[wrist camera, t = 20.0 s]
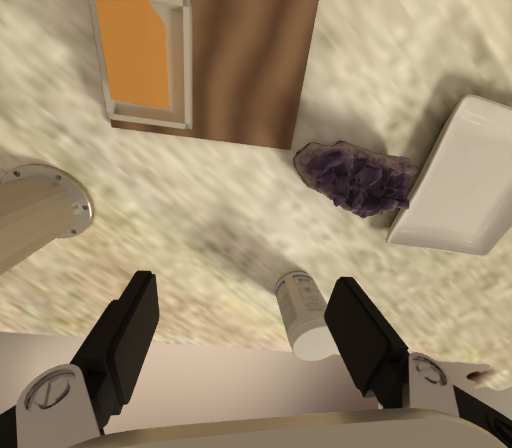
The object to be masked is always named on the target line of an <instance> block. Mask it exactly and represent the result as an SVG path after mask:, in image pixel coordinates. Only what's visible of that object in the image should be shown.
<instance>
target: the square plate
mask: <svg viewBox="0 0 512 448" xmlns="http://www.w3.org/2000/svg"><path fill="white" fill-rule="evenodd" d="M407 199H408V200H409V202H410V207H409V209H407V210H403V209H400V211H399V212H398V214H397V216H396V218H395V219H394V221H393V223H392V225H391V227H390V229H389V232H388V234H387V237H386V243H388V244H392V245H399V246H407V247H416V248H424V249H432V250H439V251H446V252H452V253H459V254H466V255H472V256H480V257H484V256H487V255H488V254H489V253H490V252H491V250H492V249H493V248H494V247H495V246H496V245H497V243H498V242H499V241H500V240H501V239H502V238H503V236H504V235H505V234H506V233H507V232H508V231H509V229H510V228H511V227H512V107H509V106H506V105H504V104H501V103H498V102H495V101H492V100H489V99H486V98H483V97H480V96H477V95H473V94H464V95H463V96H462V98H461V99H460V101H459V102H458V104H457V105H456V107H455V108H454V110H453V111H452V113H451V115H450V116H449V118H448V120H447V121H446V123H445V125H444V127H443V129H442V131H441V133H440V135H439V137H438V139H437V141H436V143H435V145H434V147H433V149H432V151H431V153H430V155H429V157H428V159H427V161H426V163H425V165H424V167H423V169H422V171H421V173H420V175H419V177H418V178H417V180H416V182H415V184H414V186H413V188H412V189H411V191H410V193H409V195H408V197H407Z"/></svg>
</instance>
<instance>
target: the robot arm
mask: <svg viewBox="0 0 512 448" xmlns="http://www.w3.org/2000/svg"><path fill="white" fill-rule="evenodd" d="M93 218H94V207H93V203H92V200H91V198H90V196H89V195H88V193H87V191H86V190H85V189H84V188H83V187H82V185H81V184H80V183H79V182H77V181H76V180H75V179H74V178H72V177H71V176H69V175H68V174H66V173H65V172H62V171H60V170H58V169H56V168H53V167H50V166H45V165H39V164H30V165H24V166H20V167H16V168H14V169H12V170H10V171H9V172H7V173H6V175H5V176H4V177H3V179H2V181H1V184H0V275H2V274H3V273H5V272H6V271H8V270H9V269H11V268H12V267H14V266H15V265H17V264H18V263H20V262H21V261H23V260H24V259H26V258H27V257H29V256H30V255H32V254H33V253H34V252H36V251H37V250H39V249H40V248H42V247H43V246H45V245H46V244H48V243H49V242H51V241H52V240H54V239H55V238H69V237H74V236H76V235H79V234H80V233H82V232H83V231H85V230H86V229H87V228H88V227H89V226H90V224H91V223H92V220H93ZM324 320H325V323H326V325H327V327H328V329H329V331H330V333H331V335H332V337H333V339H334V342H335V344H336V346H337V348H338V350H339V352H340V354H341V356H342V358H343V360H344V363H345V365H346V367H347V369H348V371H349V373H350V375H351V377H352V379H353V382H354V384H355V386H356V387H357V388H358V389H359V390H360V391H361V393H362V395H363V397H364V398H368V397H369V398H370V397H375V396H376V398H377V400H378V401H379V406H378V409H376V410H361V411H349V412H348V411H347V412H334V413H320V414H308V415H295V416H282V417H269V418H257V419H246V420H245V419H244V420H233V421H222V422H209V423H197V424H186V425H176V426H166V427H156V428H147V429H138V430H131V431H125V432H119V433H112V434H108V435H105V433H104V429H103V427H105V425H107V423H108V421H109V418H110V416H111V415H119V414H120V413H121V410H122V407H123V405H125V404H128V403H129V401H130V399H131V396H132V393H133V390H134V387H135V385H136V382H137V379H138V376H139V374H140V371H141V368H142V365H143V363H144V360H145V357H146V354H147V352H148V349H149V346H150V343H151V340H152V338H153V335H154V332H155V329H156V327H157V324H158V321H159V305H158V295H157V285H156V276H155V274H152V272H151V271H137V272H136V273H135V274H134V276H133V278H132V279H131V281H130V282H129V284H128V285H127V287H126V289H125V290H124V292H123V293H122V295H121V297H120V298H119V300H113V301H111V302H110V304H109V305H108V306H107V308H106V309H105V311H104V312H103V314H102V315H101V317H100V318H99V320H98V321H97V323H96V324H95V326H94V327H93V329H92V330H91V332H90V333H89V335H88V336H87V338H86V339H85V341H84V342H83V344H82V346H81V347H80V349H79V350H78V351H77V353H76V354H75V356H74V357H73V359H72V361H71V362H70V363H69V364H64V365H59V366H56V367H54V368H52V369H49V370H47V371H45V372H44V373H42V374H41V375H39V376H38V377H37V378H35V379H34V380H33V381H32V382H31V383H30V384H29V385H28V386H27V387H26V388H25V390H24V391H23V392H22V394H21V395H20V397H19V399H18V401H17V405H15V406H13V407H12V408H10V409H9V410H7V411H5V412H4V413H2V414H1V415H0V448H512V421H511V420H510V419H509V418H507V417H505V416H504V415H503V414H501V413H499V412H498V411H496V410H494V409H493V408H491V407H489V406H488V405H486V404H484V403H483V402H481V401H479V400H478V399H476V398H474V397H472V396H471V395H469V394H468V393H466V392H464V391H463V390H461V389H459V388H458V387H456V386H454V385H453V384H452V381H451V378H450V376H449V375H448V374H447V372H446V370H445V369H444V368H443V367H442V366H441V365H440V364H439V363H437V362H436V361H435V360H434V359H432V358H430V357H429V356H427V355H424V354H422V353H417V352H415V353H411V354H409V352H408V351H407V350H408V347H407V345H406V344H405V343H404V342H403V340H402V339H401V338H400V337H399V335H398V334H397V333H396V331H395V330H394V329H393V328H392V326H391V325H390V324H389V323H388V321H387V320H386V319H385V317H384V316H383V315H382V314H381V312H380V311H379V310H378V309H377V307H376V306H375V305H374V303H373V302H372V301H371V300H370V298H369V297H368V296H367V295H366V293H365V292H364V291H363V290H362V288H361V287H360V286H359V284H358V283H357V282H356V281H355V279H354V278H353V277H340V278H339V279H338V280H337V281H336V284H335V286H334V289H333V292H332V294H331V297H330V300H329V302H328V305H327V308H326V310H325V313H324Z"/></svg>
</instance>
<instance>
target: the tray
mask: <svg viewBox="0 0 512 448" xmlns="http://www.w3.org/2000/svg"><path fill="white" fill-rule="evenodd" d="M148 1H149V3H150V4H151V5H152V7H153V8H154V10H155V11H156V13H157V14H158V16H159V17H160V19H161V20H162V22H163V23H164V25H165V33H166V52H167V72H168V91H169V108H162V107H155V106H147V105H140V104H134V103H128V102H123V101H117V100H112V99H111V96H110V89H109V83H108V76H107V70H106V63H105V57H104V51H103V44H102V38H101V31H100V25H99V18H98V12H97V5H96V0H89V3H90V10H91V16H92V22H93V28H94V35H95V41H96V47H97V53H98V60H99V66H100V72H101V79H102V85H103V91H104V97H105V104H106V110H107V116H108V119H112V120H120V121H127V122H135V123H143V124H150V125H158V126H165V127H173V128H180V129H188V130H192V6H191V3H190V0H148Z"/></svg>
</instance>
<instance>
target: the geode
mask: <svg viewBox="0 0 512 448" xmlns="http://www.w3.org/2000/svg"><path fill="white" fill-rule="evenodd" d="M293 162H294V165H295V168H296V170H297V171H298V173H299V174H300V176H301V177H302V179H303V181H304V182H305V184H306V185H307V187H310V188H312V189H314V190H316V191H317V192H319V193H322V194H324V195H326V196H327V198H329V199H330V200H333V202H334V205H335V206H336V207H337V206H338V205H340V206H341V207H342V208H343V209H345V210H348V211H351V212H352V213H353V214H356V215H359V216H360V217H361V218H366V217H367V216H373V215H375V214H379V215H381V214H382V212H383V211H385V210H389V211H393V210H394V209H395V208H396V207H397V208H401V209H403V210H407V209H409V207H410V202H409V200H408V199H406V197H407V195H408V192H409V188H408V180H409V179H410V178H411V177H412V176H413V175H415V174H416V172H417V169H416V167H415V166H414V165H413V163H412V162H411V161H410V159H408V158H405V157H402V156H400V157H397V156H392V155H382V154H379V153H373V152H371V151H369V150H366V149H363V148H360V147H357V146H355V145H352V144H349V143H347V142H345V141H339V142H338V143H336V144H335V145H334V146H326V145H322V144H318V143H309V144H308V145H307V146H305V147H304V148H303V149H302V150H300V151H298V152H297V155H296V156H295V157H294V158H293Z"/></svg>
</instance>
